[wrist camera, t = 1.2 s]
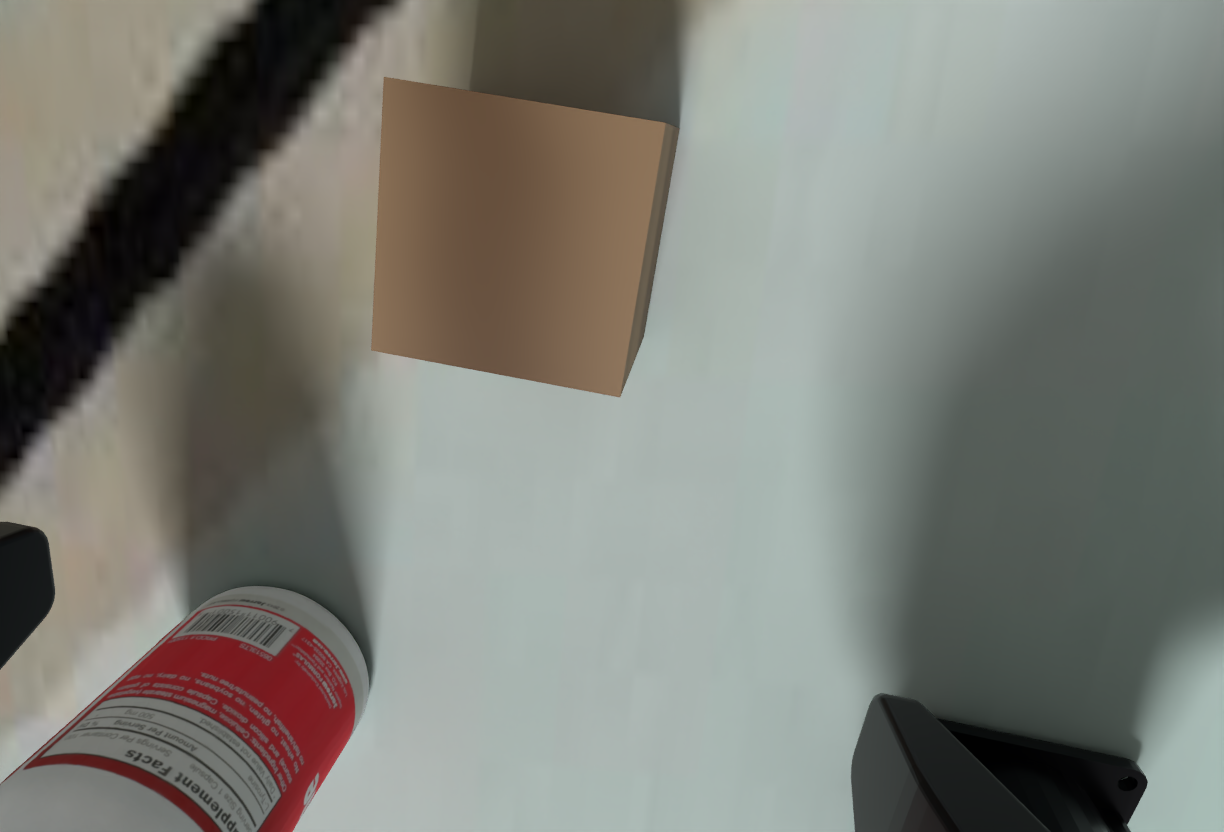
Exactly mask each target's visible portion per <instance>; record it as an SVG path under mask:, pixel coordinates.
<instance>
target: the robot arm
mask: <svg viewBox="0 0 1224 832" xmlns="http://www.w3.org/2000/svg"><path fill="white" fill-rule="evenodd" d="M54 598H55V586H54V578H53V571H52V564H51V557H50V549H49V543H48V539H47V537H46V535H45V534H44V532H43V531H41V530H40V529H38V528H36V527H31V526H26V525H21V524H16V523H10V522H0V669H1V668H2V667H3V666H4V665H5V664H6V662H7V661H8V660H9V659H10V658H11V657H12V656H13V654H14V653H15V652H16V651H17V650H18V649H19V647H20V646H21V645H22V644H23V643H24V642H25V640H26V639H27V638H28V637H29V636H30V635H31V633H32V632H33V631H34V630H35V629H36V628H37V626H38V625H39V624H40V623H41V622H42V621H43V619H44V618H45V617H46V616H47V614H48V613H49V611H50V609H51V607H52V605H53V602H54ZM1124 777H1128V778H1126V779H1123V780H1120V779H1121V778H1124ZM851 783H852V797H853V810H854V824H855V832H1131V831H1130V829H1129V828H1128V826H1127V824H1128V822H1129V820H1130V818H1131V816H1132V814H1133V813H1134V811H1135V809H1136V807H1137V805H1138V803H1139V801H1140V799H1141V797H1142V795H1143V793H1144V791H1145V789H1146V787H1147V783H1148V782H1147V779H1146V776H1145V775H1144V773H1143V772H1142V770H1141V769H1140V767H1139V766H1138V765H1137V764H1136V763H1135V762H1134V761H1131V760H1129V759H1125V758H1120V757H1116V756H1111V755H1106V754H1101V753H1097V752H1092V751H1087V750H1083V749H1078V748H1073V747H1069V746H1064V745H1059V744H1054V743H1050V742H1045V741H1040V740H1036V739H1031V738H1026V737H1021V736H1017V735H1012V734H1007V733H1003V732H998V731H993V730H988V729H984V728H979V727H974V726H970V725H965V724H960V723H955V722H951V721H946V720H941V719H937V718H935V717H934V716H933V715H932V714H931V713H930V712H929V711H928V710H927V709H926V708H925V707H924V706H923V705H922V704H921V703H920V702H918V701H916V700H914V699H910V698H905V697H900V696H894V695H889V694H884V693H880V694H878V695H876V696H875V697H874V698H873V700H872V701H871V703H870V705H869V708H868V711H867V714H866V717H865V721H864V724H863V727H862V730H861V733H860V736H859V739H858V742H857V745H856V748H855V751H854V755H853V760H852V767H851Z"/></svg>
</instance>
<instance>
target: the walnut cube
mask: <svg viewBox="0 0 1224 832" xmlns="http://www.w3.org/2000/svg"><path fill="white" fill-rule="evenodd" d="M679 129H680V128H677V127H675V126H672V125H670V124H667V123H664V122H658V121H652V120H646V119H639V118H633V117H627V116H621V115H615V114H609V113H603V112H596V111H590V110H584V109H578V108H572V107H566V106H560V105H553V104H547V103H541V102H535V101H529V100H523V99H517V98H510V97H504V96H498V95H492V94H486V93H480V92H474V91H467V90H461V89H455V88H449V87H443V86H437V85H431V84H424V83H418V82H412V81H406V80H400V79H394V78H388V77H384V86H383V107H382V129H381V151H380V173H379V194H378V216H377V238H376V260H375V281H374V303H373V325H372V347H371V350H372V351H378V352H383V353H388V354H393V355H399V356H404V357H409V358H415V359H420V360H425V361H431V362H436V363H441V364H446V365H452V366H457V367H462V368H468V369H473V370H478V371H484V372H489V373H494V374H499V375H505V376H510V377H515V378H521V379H526V380H531V381H536V382H542V383H547V384H552V385H558V386H563V387H568V388H574V389H579V390H584V391H589V392H595V393H600V394H605V395H611V396H616V397H620V396H621V394H622V391H623V389H624V386H625V383H626V381H627V378H628V376H629V373H630V371H631V368H632V366H633V363H634V360H635V358H636V355H637V353H638V350H639V348H640V345H641V343H642V340H643V337H644V332H645V326H646V320H647V314H648V308H649V303H650V297H651V291H652V285H653V279H654V274H655V268H656V262H657V256H658V250H659V245H660V239H661V233H662V227H663V221H664V216H665V210H666V204H667V198H668V192H669V187H670V181H671V175H672V169H673V164H674V158H675V152H676V146H677V140H678V135H679Z"/></svg>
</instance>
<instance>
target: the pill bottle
mask: <svg viewBox="0 0 1224 832" xmlns="http://www.w3.org/2000/svg"><path fill="white" fill-rule="evenodd" d="M368 695H369V677H368V672H367V667H366V663H365V660H364V657H363V655H362V652H361V650H360V648H359V646H358V644H357V643H356V641H355V640H354V638H353V636H352V635H351V634H350V632H349V631H348V630H347V628H346V627H345V626H344V625H343V624H342V623H341V622H340V621H339V620H338V619H337V618H336V617H335V616H334V615H333V614H332V613H330V612H329V611H328V610H327V609H325V608H324V607H322V606H321V605H320V604H318V603H316V602H315V601H313V600H311V599H309V598H307V597H305V596H303V595H301V594H299V593H296V592H293V591H289V590H286V589H281V588H275V587H267V586H247V587H239V588H235V589H231V590H228V591H225V592H223V593H220V594H218V595H216V596H214V597H212V598H211V599H209V600H207V601H206V602H204V603H203V604H202V605H200V606H199V607H198V608H197V609H195V610H194V611H193V612H192V613H190V614H189V615H188V616H187V617H186V618H185V619H184V620H183V621H181V622H180V623H179V624H178V625H177V626H176V627H175V628H174V629H172V630H171V631H170V632H169V633H168V634H167V635H166V636H164V637H163V638H162V639H161V640H160V641H159V642H158V643H157V644H156V645H155V646H154V647H153V648H152V649H151V650H150V651H148V652H147V653H146V654H145V655H144V656H143V657H142V658H141V659H140V660H138V661H137V662H136V663H135V664H134V665H133V666H132V667H131V668H130V669H128V670H127V671H126V672H125V673H124V674H123V675H122V676H121V677H119V678H118V679H117V680H116V681H115V682H114V683H113V684H112V685H111V686H109V687H108V688H107V689H106V690H105V691H104V692H103V693H102V694H100V695H99V696H98V697H97V698H96V699H95V700H94V701H93V702H92V703H91V704H89V705H88V706H87V707H86V708H85V709H84V710H83V711H82V712H80V713H79V714H78V715H77V716H76V717H75V718H74V719H73V720H71V721H70V722H69V723H68V724H67V725H66V726H65V727H64V728H62V729H61V730H60V731H59V732H58V733H57V734H56V735H55V736H53V737H52V738H51V739H50V740H49V741H48V742H47V743H45V744H44V745H43V746H42V747H41V748H40V749H39V750H38V751H36V752H35V753H34V754H33V755H32V756H31V757H30V758H28V759H27V760H26V761H25V762H24V763H23V764H22V765H21V766H19V767H18V768H17V769H16V770H15V771H14V772H13V773H11V774H10V775H9V776H8V777H7V778H6V779H5V780H4V781H3V782H2V783H1V784H0V832H292V831H293V830H294V828H295V826H296V824H297V823H298V821H299V820H300V818H301V816H302V815H303V813H304V812H305V810H306V808H307V807H308V806H309V804H310V802H311V800H312V799H313V797H314V795H315V794H316V792H317V791H318V789H319V788H320V786H321V784H322V783H323V781H324V779H325V778H326V776H327V775H328V773H329V771H330V770H331V768H332V766H333V765H334V763H335V761H336V760H337V758H338V757H339V755H340V753H341V752H342V750H343V749H344V747H345V745H346V744H347V742H348V740H349V739H350V737H351V735H352V734H353V732H354V730H355V729H356V727H357V725H358V723H359V721H360V720H361V718H362V715H363V713H364V711H365V708H366V704H367V700H368Z"/></svg>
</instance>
